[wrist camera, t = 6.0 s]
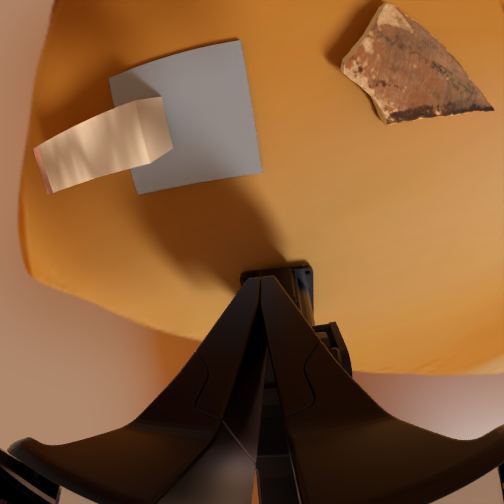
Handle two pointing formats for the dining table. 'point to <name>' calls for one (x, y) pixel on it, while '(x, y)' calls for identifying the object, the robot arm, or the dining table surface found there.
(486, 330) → the dining table surface
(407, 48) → the shard
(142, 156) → the block
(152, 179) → the mat
